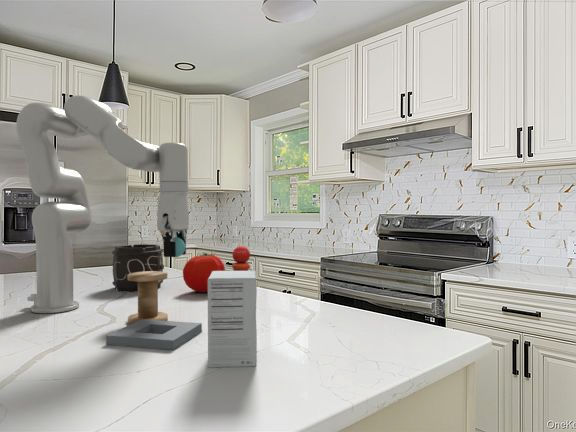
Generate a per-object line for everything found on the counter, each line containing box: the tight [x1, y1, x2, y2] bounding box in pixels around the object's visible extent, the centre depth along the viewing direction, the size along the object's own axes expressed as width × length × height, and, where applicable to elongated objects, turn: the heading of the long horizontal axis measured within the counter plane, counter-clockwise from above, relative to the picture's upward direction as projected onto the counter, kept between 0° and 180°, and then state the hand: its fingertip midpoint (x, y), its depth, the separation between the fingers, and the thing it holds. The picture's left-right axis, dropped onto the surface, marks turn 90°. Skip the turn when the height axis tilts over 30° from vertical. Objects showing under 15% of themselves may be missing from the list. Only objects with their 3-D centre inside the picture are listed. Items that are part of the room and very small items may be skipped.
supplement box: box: [207, 270, 258, 368], centre depth 85 cm, size 10×9×17 cm
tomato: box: [182, 252, 226, 293], centre depth 153 cm, size 16×14×14 cm
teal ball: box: [174, 236, 185, 258], centre depth 117 cm, size 6×6×6 cm
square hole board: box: [105, 319, 203, 351], centre depth 99 cm, size 16×14×2 cm
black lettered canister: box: [111, 243, 165, 293], centre depth 161 cm, size 18×18×16 cm
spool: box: [127, 271, 169, 325], centre depth 114 cm, size 10×10×12 cm
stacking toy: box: [231, 245, 251, 271], centre depth 125 cm, size 8×8×19 cm
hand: (175, 254), depth 117 cm, fingers closed on teal ball, 5 cm apart
